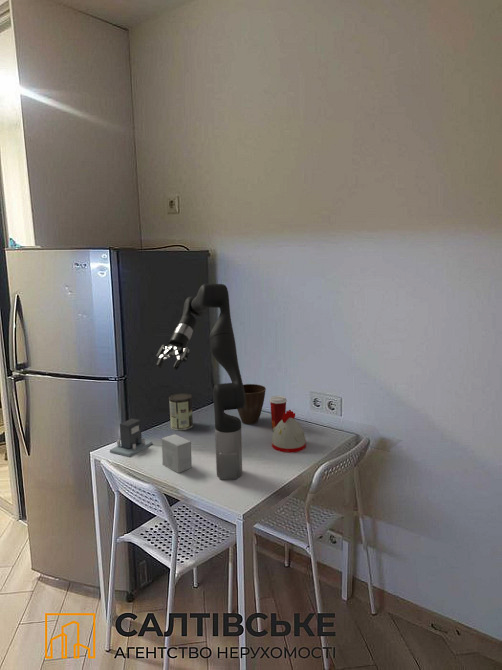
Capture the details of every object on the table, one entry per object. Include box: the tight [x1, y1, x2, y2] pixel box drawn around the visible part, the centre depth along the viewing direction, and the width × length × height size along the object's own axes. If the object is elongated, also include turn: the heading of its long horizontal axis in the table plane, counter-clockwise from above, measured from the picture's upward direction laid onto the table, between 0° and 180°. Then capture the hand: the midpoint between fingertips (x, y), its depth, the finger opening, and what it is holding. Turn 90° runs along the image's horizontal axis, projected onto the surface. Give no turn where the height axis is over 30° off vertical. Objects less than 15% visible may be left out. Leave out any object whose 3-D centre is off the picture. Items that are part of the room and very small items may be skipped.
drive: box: [119, 418, 143, 450], centre depth 190 cm, size 7×5×10 cm
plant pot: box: [237, 383, 267, 425], centre depth 216 cm, size 15×15×16 cm
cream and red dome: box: [271, 409, 307, 453], centre depth 189 cm, size 14×14×15 cm
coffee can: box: [168, 392, 194, 431], centre depth 212 cm, size 10×10×14 cm
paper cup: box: [269, 395, 288, 429], centre depth 208 cm, size 8×8×14 cm
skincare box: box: [161, 433, 193, 474], centre depth 173 cm, size 10×6×10 cm, turn 44°
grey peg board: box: [109, 437, 153, 458], centre depth 190 cm, size 14×10×4 cm
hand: (166, 368), depth 195 cm, fingers open, 8 cm apart
